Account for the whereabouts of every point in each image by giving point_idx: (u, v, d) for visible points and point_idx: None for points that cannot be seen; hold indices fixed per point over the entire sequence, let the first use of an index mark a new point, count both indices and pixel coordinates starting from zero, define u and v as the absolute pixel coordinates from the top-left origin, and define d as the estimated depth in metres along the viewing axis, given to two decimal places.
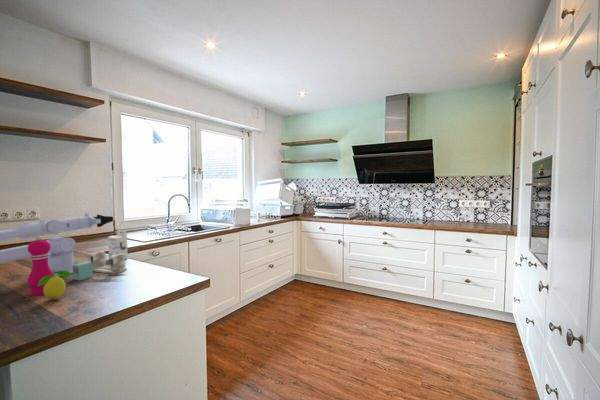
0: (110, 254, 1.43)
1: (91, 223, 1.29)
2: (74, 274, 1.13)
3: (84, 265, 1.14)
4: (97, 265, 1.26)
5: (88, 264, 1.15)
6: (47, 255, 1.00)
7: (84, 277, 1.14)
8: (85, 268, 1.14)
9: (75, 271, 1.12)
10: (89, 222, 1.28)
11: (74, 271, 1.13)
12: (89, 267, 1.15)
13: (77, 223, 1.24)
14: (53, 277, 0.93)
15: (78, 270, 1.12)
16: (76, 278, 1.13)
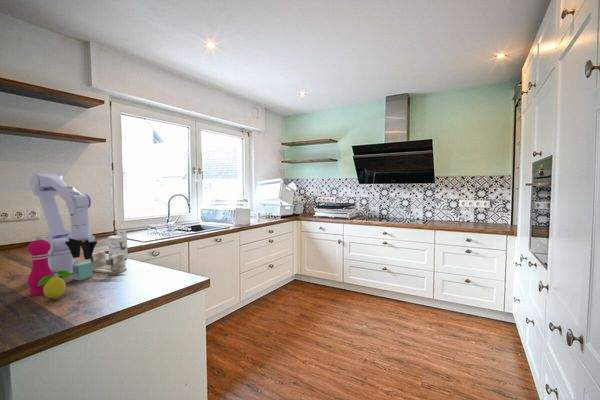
0: (110, 254, 1.43)
1: (83, 237, 1.12)
2: (74, 274, 1.13)
3: (84, 265, 1.14)
4: (97, 265, 1.26)
5: (88, 264, 1.15)
6: (47, 255, 1.00)
7: (84, 277, 1.14)
8: (85, 268, 1.14)
9: (75, 271, 1.12)
10: (84, 235, 1.13)
11: (74, 271, 1.13)
12: (89, 267, 1.15)
13: (72, 223, 1.11)
14: (53, 277, 0.93)
15: (78, 270, 1.12)
16: (76, 278, 1.13)
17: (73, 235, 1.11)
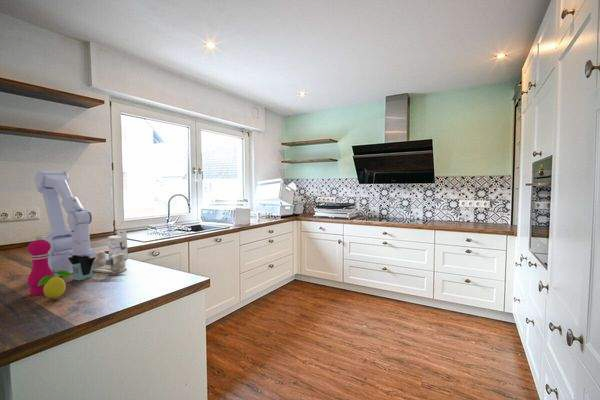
0: (110, 254, 1.43)
1: None
2: (74, 274, 1.13)
3: None
4: (97, 265, 1.26)
5: None
6: (47, 255, 1.00)
7: (84, 277, 1.14)
8: None
9: (75, 271, 1.12)
10: (85, 251, 1.13)
11: (74, 271, 1.13)
12: None
13: (73, 240, 1.12)
14: (53, 277, 0.93)
15: (78, 270, 1.12)
16: (76, 278, 1.13)
17: (74, 251, 1.12)
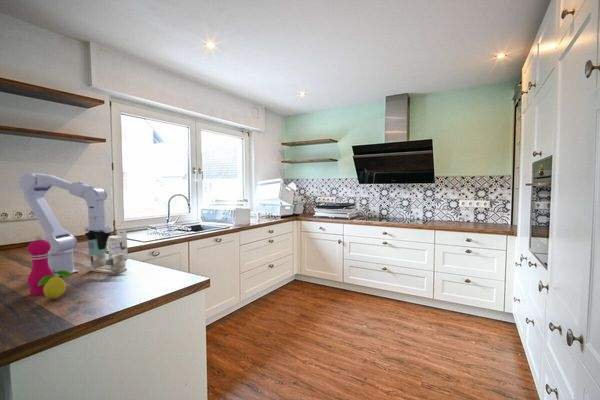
0: (110, 254, 1.43)
1: None
2: (90, 249, 1.19)
3: None
4: (97, 265, 1.26)
5: None
6: (47, 255, 1.00)
7: (99, 252, 1.19)
8: None
9: (91, 246, 1.18)
10: (101, 226, 1.19)
11: (90, 246, 1.18)
12: None
13: (92, 215, 1.17)
14: (53, 277, 0.93)
15: (93, 245, 1.18)
16: (92, 253, 1.18)
17: (90, 226, 1.18)
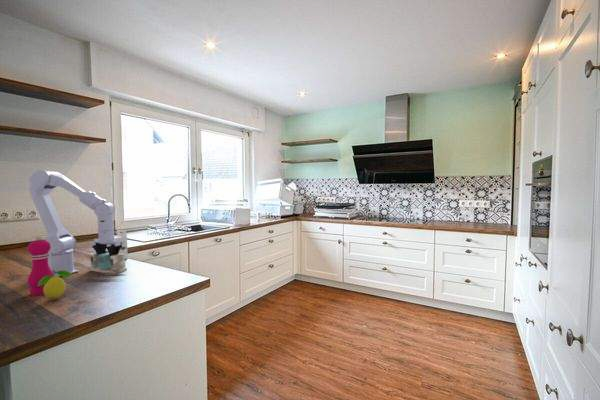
0: None
1: None
2: (99, 263, 1.23)
3: (108, 255, 1.23)
4: (97, 265, 1.26)
5: None
6: (47, 255, 1.00)
7: (108, 266, 1.23)
8: (109, 258, 1.23)
9: (101, 261, 1.22)
10: (110, 239, 1.23)
11: (99, 261, 1.22)
12: None
13: (103, 229, 1.21)
14: (53, 277, 0.93)
15: (103, 259, 1.21)
16: (101, 267, 1.22)
17: (100, 240, 1.21)
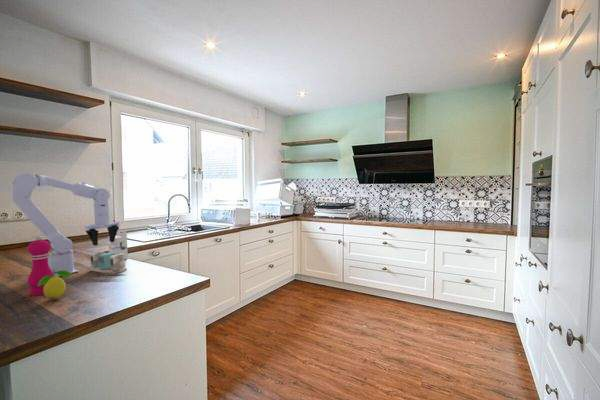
0: None
1: (94, 225, 1.29)
2: (99, 263, 1.23)
3: (108, 255, 1.23)
4: (97, 265, 1.26)
5: (112, 254, 1.25)
6: (47, 255, 1.00)
7: (108, 266, 1.23)
8: (109, 258, 1.23)
9: (101, 261, 1.22)
10: (95, 223, 1.29)
11: (99, 261, 1.22)
12: None
13: (103, 213, 1.30)
14: (53, 277, 0.93)
15: (103, 259, 1.21)
16: (101, 267, 1.22)
17: None
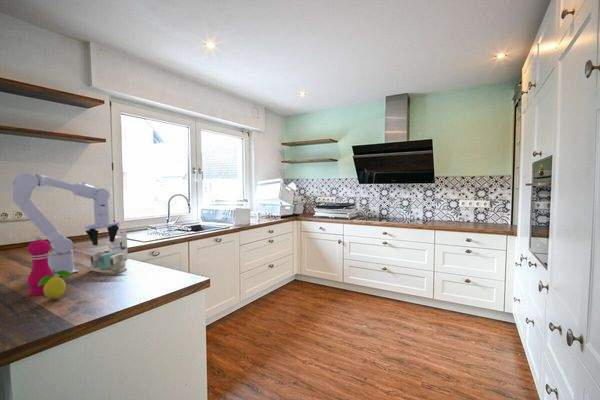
0: None
1: (94, 225, 1.29)
2: (99, 263, 1.23)
3: (108, 255, 1.23)
4: (97, 265, 1.26)
5: (112, 254, 1.25)
6: (47, 255, 1.00)
7: (108, 266, 1.23)
8: (109, 258, 1.23)
9: (101, 261, 1.22)
10: (95, 223, 1.29)
11: (99, 261, 1.22)
12: None
13: (103, 213, 1.30)
14: (53, 277, 0.93)
15: (103, 259, 1.21)
16: (101, 267, 1.22)
17: None
